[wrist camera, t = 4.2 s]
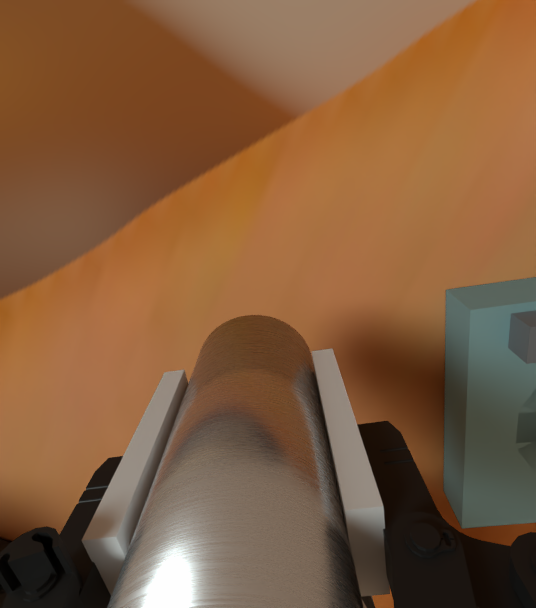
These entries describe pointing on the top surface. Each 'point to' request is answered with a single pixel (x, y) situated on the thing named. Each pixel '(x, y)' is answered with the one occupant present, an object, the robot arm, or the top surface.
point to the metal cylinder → (244, 487)
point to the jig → (491, 403)
